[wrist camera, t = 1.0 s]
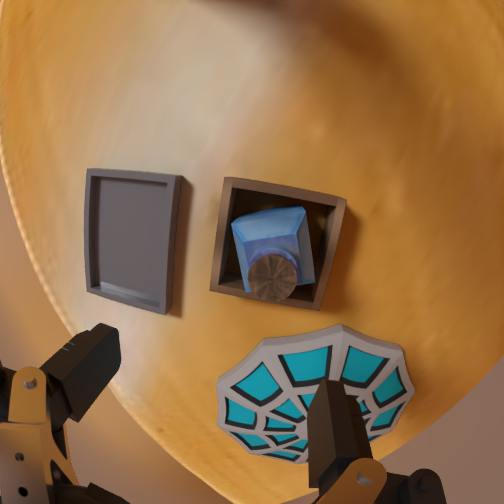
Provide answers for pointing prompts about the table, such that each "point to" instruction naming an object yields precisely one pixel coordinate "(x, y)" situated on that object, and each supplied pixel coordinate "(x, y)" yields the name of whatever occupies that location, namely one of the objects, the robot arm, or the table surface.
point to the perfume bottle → (274, 251)
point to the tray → (131, 236)
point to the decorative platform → (309, 388)
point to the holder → (333, 222)
